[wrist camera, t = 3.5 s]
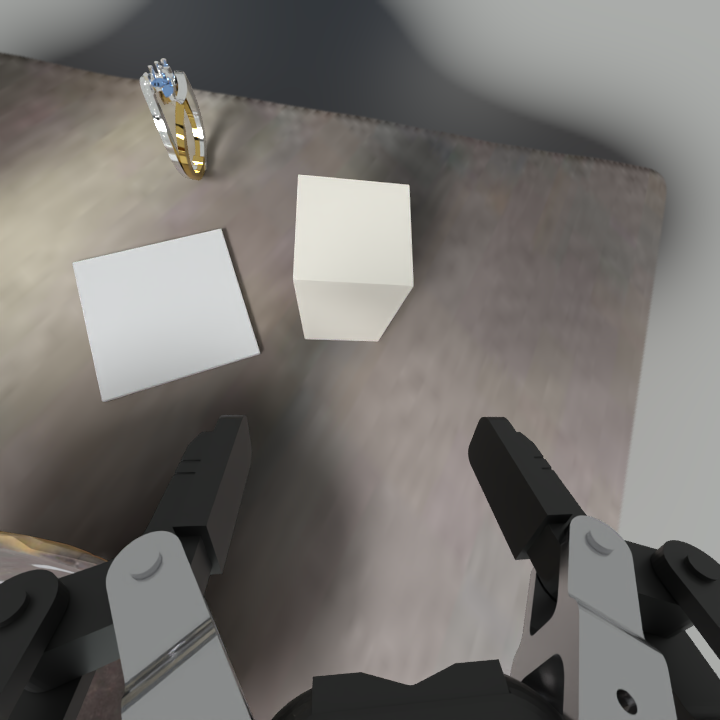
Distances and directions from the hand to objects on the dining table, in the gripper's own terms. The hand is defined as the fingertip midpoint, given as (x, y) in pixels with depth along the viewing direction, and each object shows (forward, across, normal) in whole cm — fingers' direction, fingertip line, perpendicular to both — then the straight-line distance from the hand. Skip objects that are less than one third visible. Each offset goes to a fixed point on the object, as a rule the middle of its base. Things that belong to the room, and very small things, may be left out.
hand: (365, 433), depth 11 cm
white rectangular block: (+18, 0, +3) cm, 19 cm away
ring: (+28, +13, -6) cm, 31 cm away
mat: (+18, +14, +4) cm, 23 cm away
